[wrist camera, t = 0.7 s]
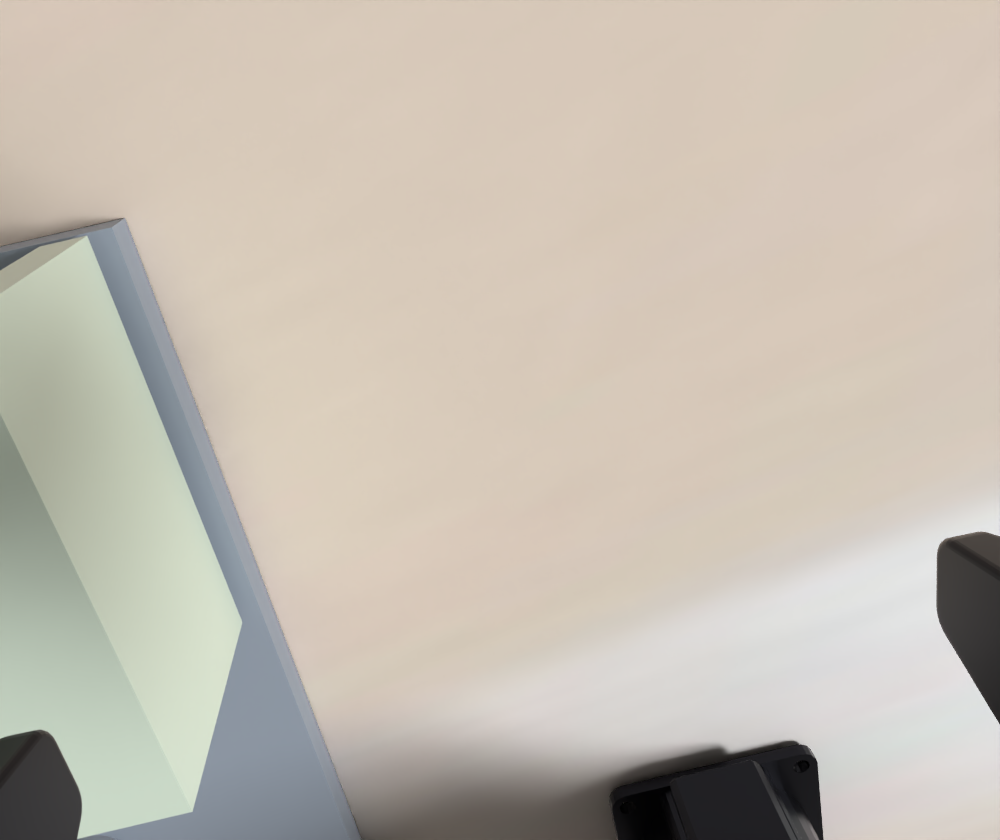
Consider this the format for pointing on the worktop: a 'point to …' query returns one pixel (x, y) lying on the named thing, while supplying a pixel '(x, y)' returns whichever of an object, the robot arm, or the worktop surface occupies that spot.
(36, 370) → the hood
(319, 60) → the worktop surface
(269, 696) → the grey base plate
